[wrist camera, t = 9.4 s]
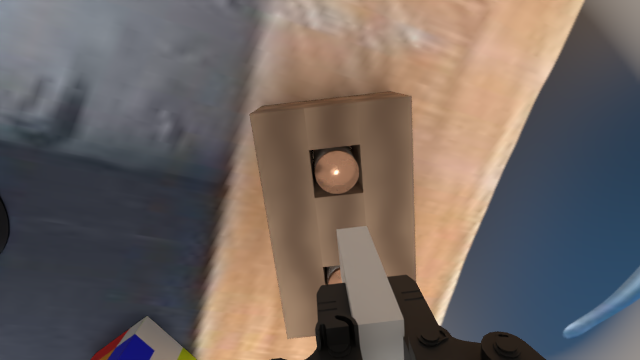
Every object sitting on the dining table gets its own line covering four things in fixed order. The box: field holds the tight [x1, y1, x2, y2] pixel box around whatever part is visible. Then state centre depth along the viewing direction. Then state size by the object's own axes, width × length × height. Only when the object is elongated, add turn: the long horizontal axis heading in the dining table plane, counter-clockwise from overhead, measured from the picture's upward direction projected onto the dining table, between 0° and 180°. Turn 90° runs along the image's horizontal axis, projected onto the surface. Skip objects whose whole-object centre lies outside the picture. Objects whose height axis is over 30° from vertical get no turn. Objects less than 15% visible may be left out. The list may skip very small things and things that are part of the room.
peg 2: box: [327, 265, 342, 284], centre depth 37 cm, size 4×4×8 cm
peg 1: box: [314, 146, 359, 194], centre depth 34 cm, size 4×4×8 cm
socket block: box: [250, 92, 416, 339], centre depth 36 cm, size 14×24×8 cm, turn 6°
